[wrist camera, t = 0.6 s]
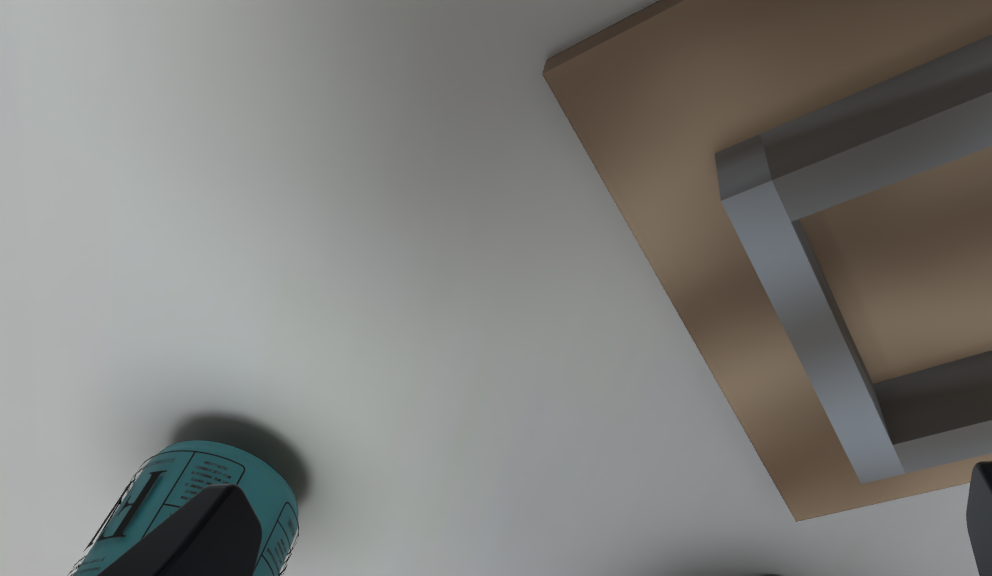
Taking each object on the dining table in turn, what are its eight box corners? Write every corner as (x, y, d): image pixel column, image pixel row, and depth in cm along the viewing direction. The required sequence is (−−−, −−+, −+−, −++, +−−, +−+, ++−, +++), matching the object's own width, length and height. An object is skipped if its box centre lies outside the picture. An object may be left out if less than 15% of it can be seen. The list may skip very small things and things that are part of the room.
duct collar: (1282, 382, 23) (1368, 475, 20) (792, 499, 29) (806, 584, 26) (1189, -278, 15) (1307, -275, 13) (546, 59, 21) (529, 114, 18)
